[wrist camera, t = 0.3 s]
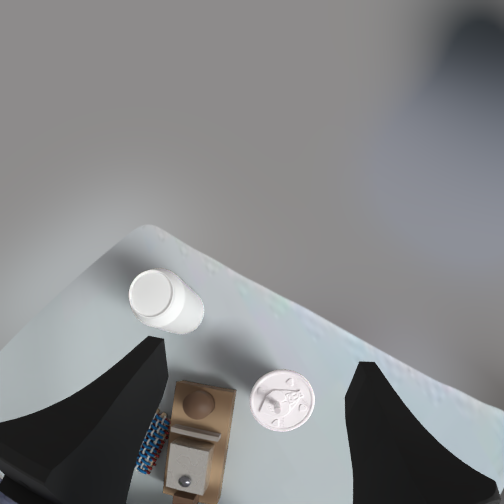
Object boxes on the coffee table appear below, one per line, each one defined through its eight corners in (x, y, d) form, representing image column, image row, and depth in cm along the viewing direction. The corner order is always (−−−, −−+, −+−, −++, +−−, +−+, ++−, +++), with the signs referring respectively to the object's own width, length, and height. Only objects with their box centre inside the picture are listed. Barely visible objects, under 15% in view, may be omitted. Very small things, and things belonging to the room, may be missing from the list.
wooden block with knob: (220, 496, 33) (211, 517, 26) (169, 485, 33) (153, 502, 27) (236, 390, 38) (229, 395, 31) (183, 380, 38) (167, 383, 32)
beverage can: (212, 297, 42) (189, 272, 30) (197, 341, 40) (167, 333, 29) (170, 283, 43) (135, 255, 31) (155, 326, 41) (114, 312, 30)
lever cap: (208, 485, 31) (201, 497, 27) (174, 477, 31) (164, 487, 27) (214, 444, 33) (207, 453, 29) (179, 436, 33) (169, 444, 29)
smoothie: (246, 379, 38) (232, 389, 25) (293, 358, 38) (303, 358, 25) (267, 423, 36) (263, 454, 23) (314, 402, 36) (334, 423, 23)
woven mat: (151, 475, 34) (146, 480, 32) (91, 436, 36) (84, 438, 34) (179, 418, 37) (174, 421, 35) (114, 380, 39) (108, 380, 37)
